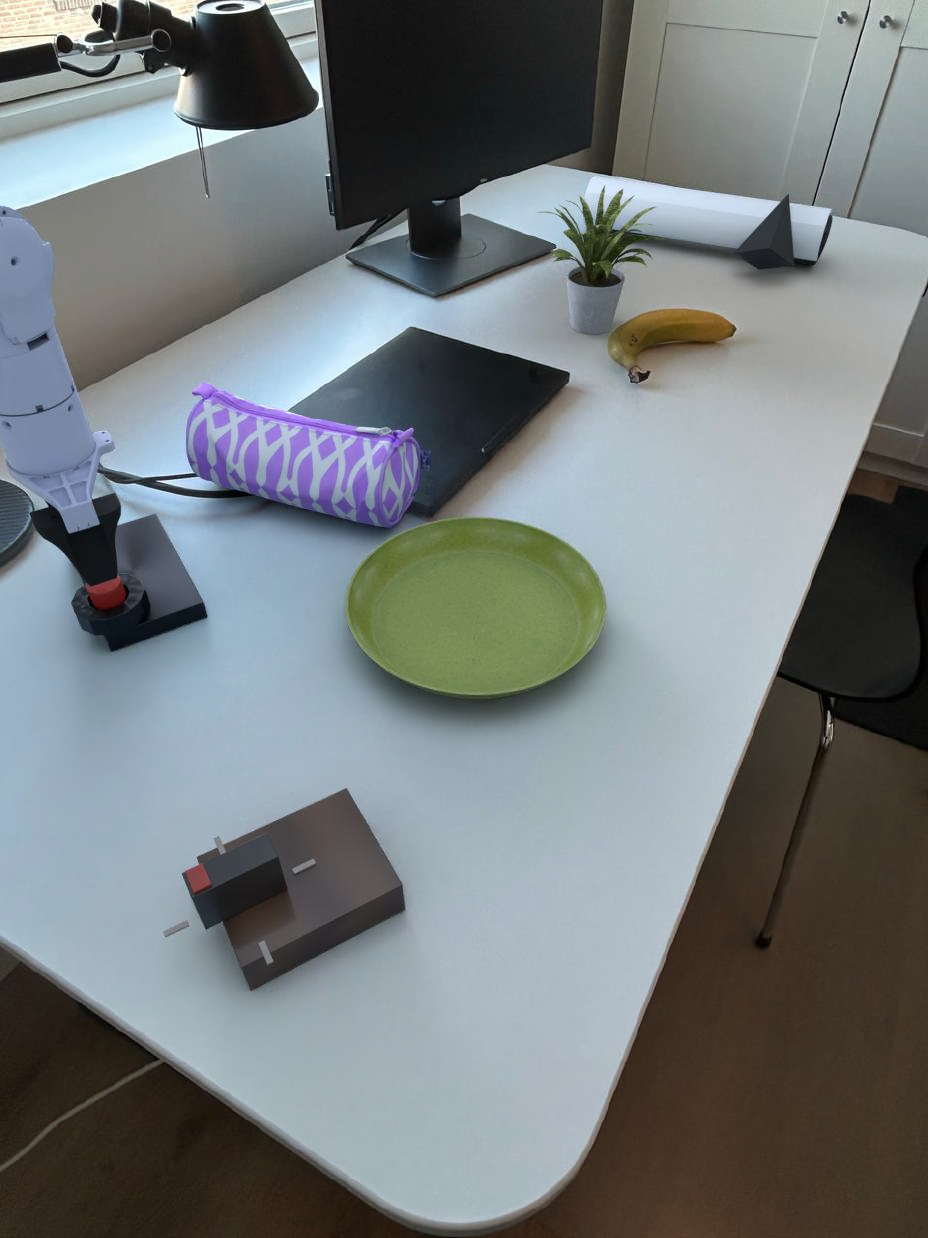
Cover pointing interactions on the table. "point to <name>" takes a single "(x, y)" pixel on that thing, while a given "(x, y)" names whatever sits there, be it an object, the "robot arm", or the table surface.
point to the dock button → (107, 594)
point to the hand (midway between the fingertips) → (92, 554)
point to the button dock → (143, 589)
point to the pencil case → (304, 458)
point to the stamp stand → (312, 889)
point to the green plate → (475, 607)
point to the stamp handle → (235, 880)
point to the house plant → (598, 264)
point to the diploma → (720, 221)
